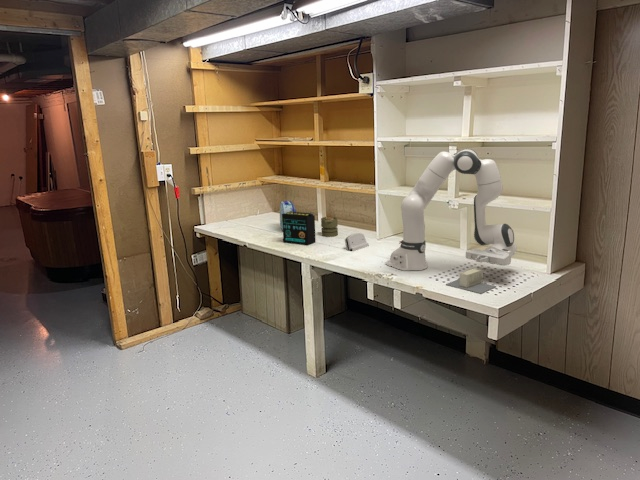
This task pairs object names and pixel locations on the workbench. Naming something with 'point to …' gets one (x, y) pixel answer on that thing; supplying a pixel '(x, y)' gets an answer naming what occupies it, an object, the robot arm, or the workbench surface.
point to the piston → (329, 227)
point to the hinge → (356, 242)
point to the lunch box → (285, 209)
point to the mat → (473, 287)
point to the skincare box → (471, 277)
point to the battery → (299, 228)
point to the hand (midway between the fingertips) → (478, 260)
